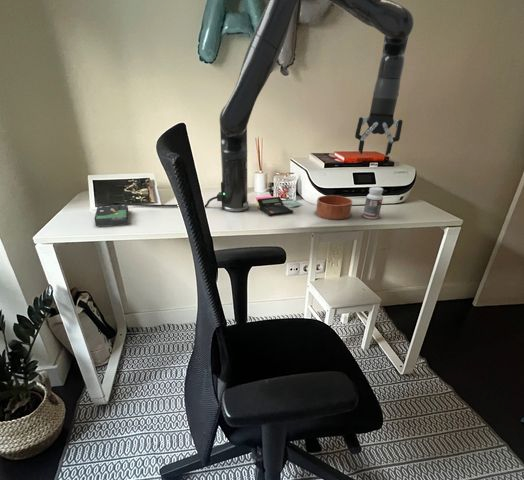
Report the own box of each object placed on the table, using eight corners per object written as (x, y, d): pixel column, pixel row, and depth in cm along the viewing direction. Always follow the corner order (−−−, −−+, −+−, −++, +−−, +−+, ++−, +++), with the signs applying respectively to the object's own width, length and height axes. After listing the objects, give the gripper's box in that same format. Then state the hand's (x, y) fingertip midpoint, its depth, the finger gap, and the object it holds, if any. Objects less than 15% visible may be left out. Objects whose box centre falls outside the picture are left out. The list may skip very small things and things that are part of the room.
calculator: (270, 216, 133) (270, 207, 131) (257, 206, 142) (257, 198, 140) (292, 213, 136) (293, 205, 135) (278, 204, 145) (279, 196, 143)
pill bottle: (378, 219, 133) (385, 191, 127) (363, 218, 134) (368, 189, 127) (378, 215, 137) (384, 186, 131) (362, 213, 138) (368, 185, 132)
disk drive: (98, 213, 132) (96, 227, 120) (96, 205, 130) (94, 218, 119) (128, 211, 134) (129, 224, 123) (127, 203, 132) (127, 216, 121)
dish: (315, 218, 132) (317, 204, 129) (316, 207, 142) (318, 194, 139) (350, 220, 131) (353, 206, 128) (349, 210, 141) (351, 196, 138)
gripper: (406, 97, 117) (393, 153, 127) (361, 94, 118) (351, 150, 128) (410, 98, 111) (396, 158, 121) (362, 95, 112) (352, 154, 122)
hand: (373, 154), depth 124 cm, fingers open, 8 cm apart
